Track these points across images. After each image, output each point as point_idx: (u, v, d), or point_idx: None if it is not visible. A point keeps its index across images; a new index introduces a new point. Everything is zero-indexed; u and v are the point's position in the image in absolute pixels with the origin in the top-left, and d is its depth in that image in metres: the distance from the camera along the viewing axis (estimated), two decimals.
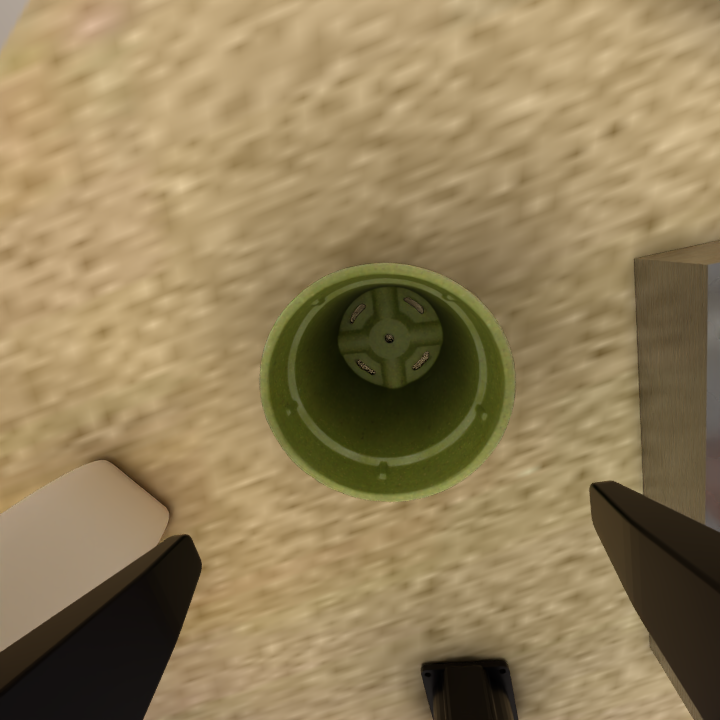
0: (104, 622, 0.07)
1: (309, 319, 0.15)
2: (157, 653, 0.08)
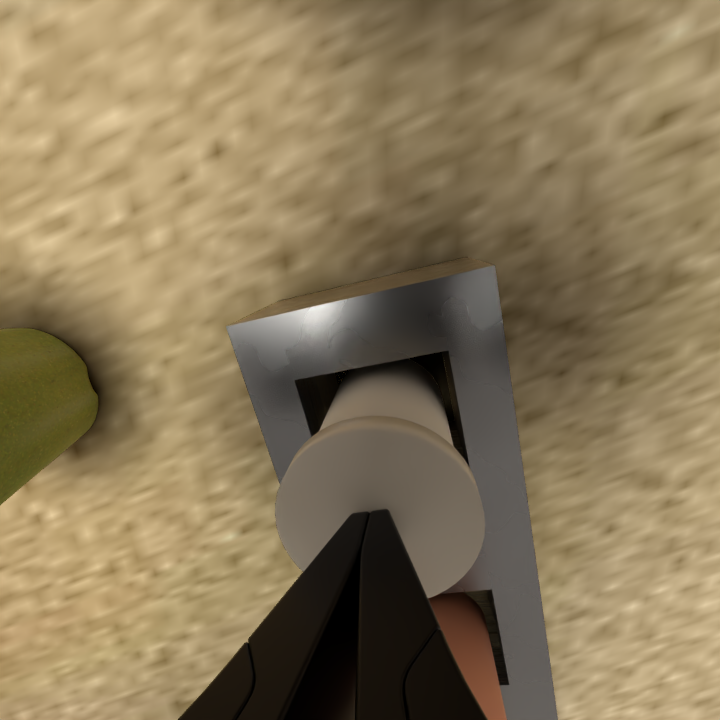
0: (339, 603, 0.06)
1: None
2: None
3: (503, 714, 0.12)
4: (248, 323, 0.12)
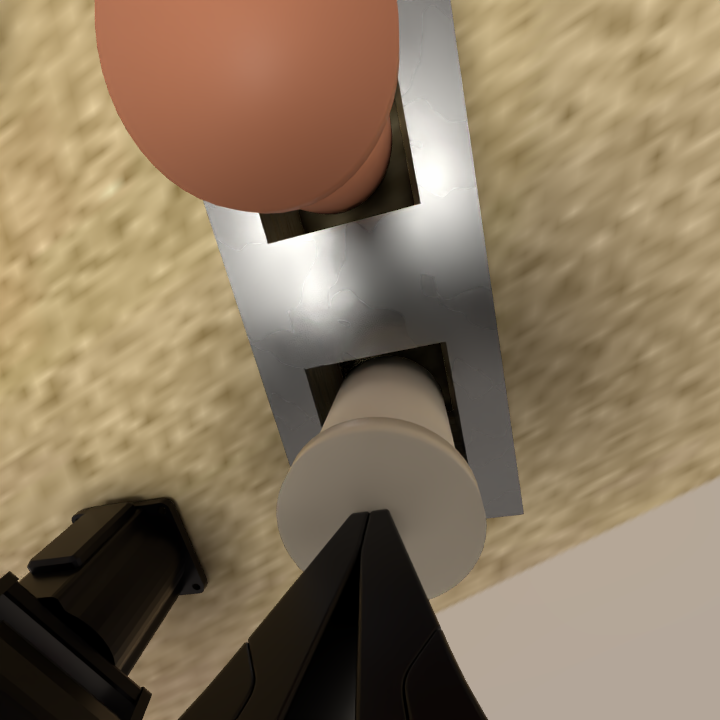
0: (339, 603, 0.06)
1: None
2: None
3: None
4: None
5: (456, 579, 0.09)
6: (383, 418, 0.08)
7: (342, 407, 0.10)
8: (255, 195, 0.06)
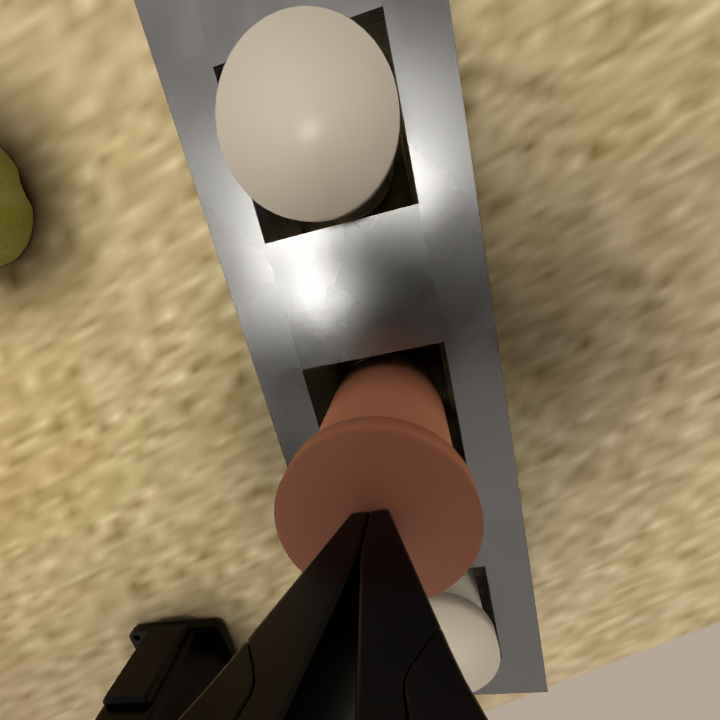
0: (339, 603, 0.06)
1: None
2: None
3: (446, 429, 0.11)
4: None
5: (482, 684, 0.14)
6: None
7: None
8: None
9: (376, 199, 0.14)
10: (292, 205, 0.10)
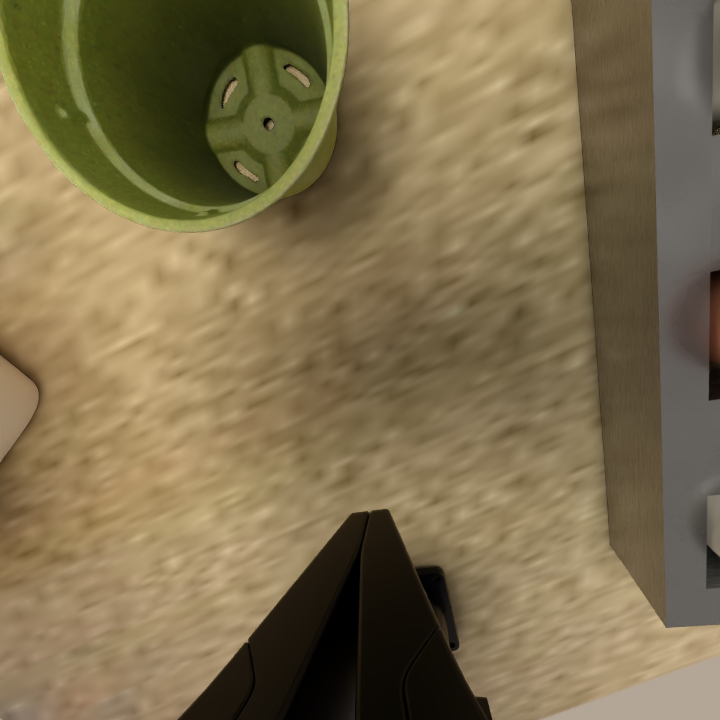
0: (339, 603, 0.06)
1: None
2: None
3: None
4: None
5: None
6: None
7: None
8: None
9: None
10: None
